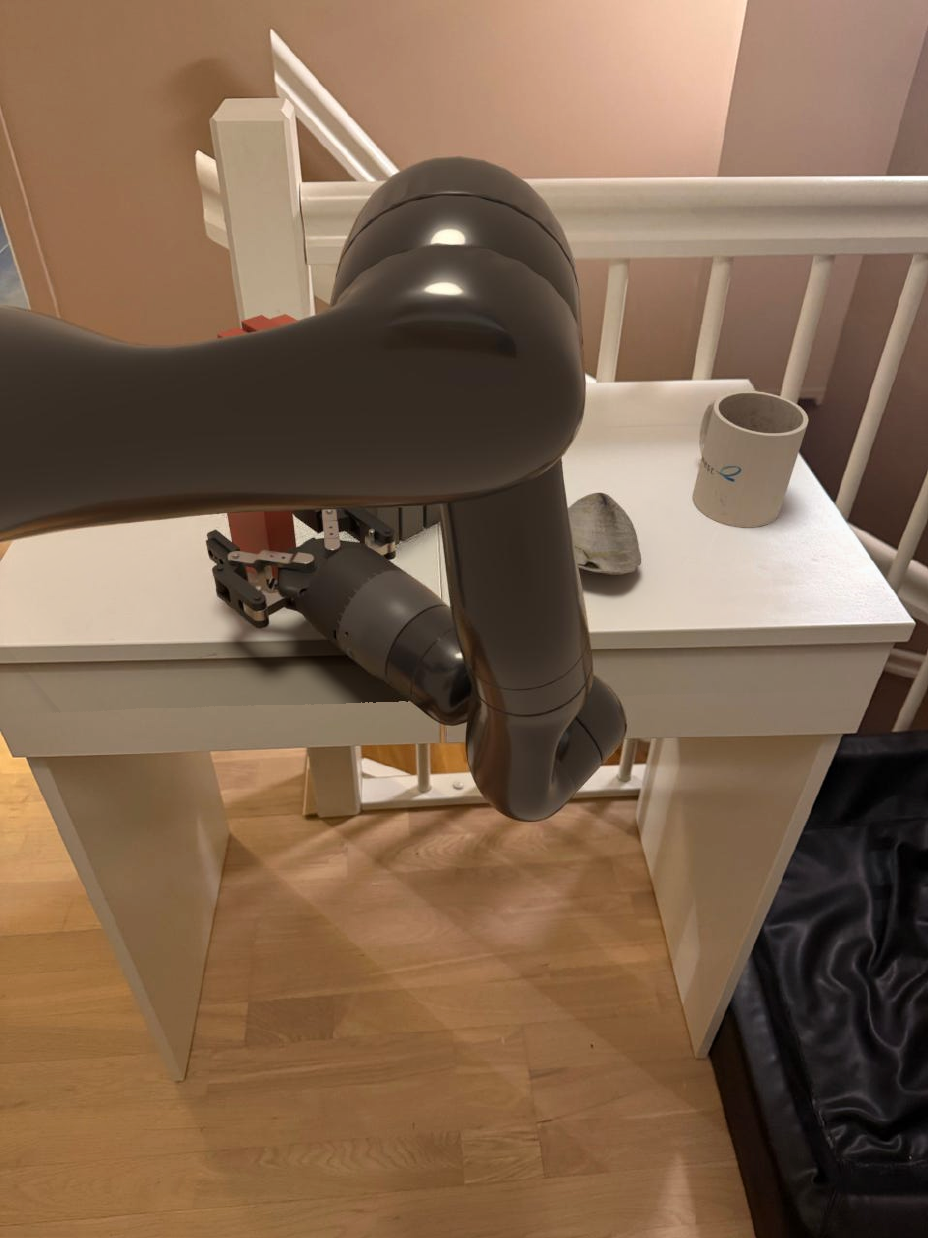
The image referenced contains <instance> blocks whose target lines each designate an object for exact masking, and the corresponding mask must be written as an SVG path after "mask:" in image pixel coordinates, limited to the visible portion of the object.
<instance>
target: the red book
mask: <svg viewBox="0 0 928 1238" xmlns="http://www.w3.org/2000/svg"><path fill="white" fill-rule="evenodd" d="M226 516H227V521H228V528H229V533H230V541H231V542H232V543H234V544H235V545H236V546H238V547H239V548H240V551H241V552H248V553H255V554H259V553H260V552H261V551H262V550H269V551H276V552H285V551H287V550H289V549H291V548H295V547H297V539H296V531H295V530H296V529H295V522H294V515H293V512H292V510H287V511H261V512H240V513H226ZM246 570H247V572H253V573H256V570H255V569H254V568H251V567H246ZM271 570H272V576H273V578H274V579H276V580H278V567H275V566H271Z"/></svg>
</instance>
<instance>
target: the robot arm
mask: <svg viewBox="0 0 928 1238" xmlns="http://www.w3.org/2000/svg"><path fill="white" fill-rule="evenodd" d="M569 243H570V242H569V240H568V239H567V236H566V234H565V231H564V229H563V226H562V224H561V222H560V221H559V219H558V217H557V216H556V215H555V213H554V212H553V210H552V209H551V207H550V205H549V204H548V203H547V201H546V199H545V198H543V196H541V195H540V194H539V193H538V191H536V189H535V188H533V186H531V184H529V183H528V182H527V181H526V180H524V179H522V178H521V177H520V176H518V175H516V174H515V173H514V172H512V171H511V170H509V169H507V168H505V167H503V166H500V165H497V164H496V163H492V162H490V161H487V160H484V159H480V158H475V157H474V158H473V157H467V156H462V155H458V156H456V155H455V156H442V157H431V158H428V159H424V160H421V161H418V162H416V163H412V164H411V165H409V166H407V167H405V168H404V169H401V170H399V171H398V172H396V173H394V174H392V175H391V176H390V177H388V178H387V180H385V181H384V182H383V183H381V185H379V186H378V188H376V189H375V190H374V191H373V193H372V194H371V195H370V197H369V198H368V200H367V201H366V202H365V204H364V205H363V206H362V207H361V209H360V210H359V211H358V213H357V216H356V218H355V220H354V222H353V224H352V226H351V228H350V231H349V233H348V235H347V236H346V239H345V241H344V244H343V246H342V249H341V252H340V257H339V261H338V265H337V269H336V273H335V277H334V283H333V287H332V291H331V294H330V302H329V306H328V309H326V310H324V311H321V312H319V313H317V314H315V315H310V316H308V317H304V318H302V319H297V320H298V321H295V322H292V323H289V324H285V325H281V326H277V327H273V328H269V329H265V330H261V331H256V332H251V333H245V334H240V335H235V336H229V337H224V338H219V339H218V338H214V339H209V340H203V341H198V342H190V343H179V344H167V345H166V344H165V345H161V344H159V345H158V344H156V345H155V344H152V345H151V344H144V343H137V342H130V341H126V340H123V339H120V338H117V337H113V336H111V335H110V336H109V335H107V334H104V333H101V332H99V331H96V330H93V329H90V328H88V327H85V326H83V325H80V324H78V323H74V322H72V321H69V320H66V319H63V318H60V317H58V316H54V315H50V314H47V313H44V312H41V311H37V310H33V309H29V308H23V307H18V306H13V305H7V304H0V543H5V542H6V543H8V542H14V541H18V540H19V541H20V540H23V539H29V538H34V537H39V536H44V535H50V534H56V533H62V532H67V531H75V530H83V529H90V528H91V529H92V528H100V527H109V526H117V525H127V524H136V523H143V522H145V523H146V522H153V521H163V520H172V519H181V518H188V517H190V518H191V517H197V516H198V517H199V516H209V515H210V516H211V515H220V514H227V513H240V512H261V511H287V510H292V512H293V517H294V518H295V519H297V520H298V521H300V522H302V523H303V524H304V525H305V526H307V527H308V528H310V529H311V530H313V531H314V532H315V533H317V535H319V534H321V533H323V537H319V538H315V536H314V537H311V538H309V539H307V540H305V541H303V543H302V544H301V545H299V546H296V547H295V548H291V549H289V550H287V551H285V552H276V551H269V550H262V551H261V552H260V553H259V554H255V553H248V552H241V551H240V548H239V547H238V546H236V545H235V544H234V543H232V540H231V539H229V538H228V537H227V536H225V535H224V534H223V533H222V532H220V531H219V530H218V529H212V530H211V531H209V532H207V533H206V538H207V539H206V540H205V546H206V550H207V556H208V558H209V560H211V561H212V562H213V563H214V564H215V565H214V566H212V568H211V573H212V576H213V580H214V584H215V593H216V596H217V598H219V599H220V600H221V601H223V602H224V603H225V604H226V605H227V606H229V607H230V608H231V609H232V610H234V611H235V612H236V613H237V614H238V615H240V616H241V618H243V619H244V620H246V621H247V622H248V623H249V624H251V625H252V626H253V627H254V628H256V629H265V628H266V627H268V626H269V625H270V618H269V617H270V616H272V615H273V614H275V613H277V612H278V611H280V610H282V609H284V608H285V609H286V610H290V611H294V612H296V613H299V614H301V616H303V617H304V619H305V620H306V621H307V622H308V624H309V625H310V626H311V627H312V628H313V629H315V631H317V632H318V633H319V634H321V636H323V637H324V638H325V639H327V640H328V641H329V642H331V643H332V644H333V645H334V646H336V647H337V648H338V649H339V650H340V651H342V652H343V653H344V654H345V655H346V656H347V657H348V658H349V659H351V660H353V661H354V662H355V663H356V664H358V665H359V666H360V667H361V668H362V669H364V670H365V671H366V672H368V673H369V674H370V675H372V676H374V677H375V678H378V679H379V680H381V681H383V682H384V683H386V684H388V685H389V686H390V687H391V688H393V689H394V690H395V691H396V692H398V693H400V695H401V696H402V697H404V698H405V699H407V700H408V701H409V702H410V703H411V704H412V705H414V706H415V707H416V708H418V709H419V710H420V711H421V712H423V713H424V714H425V715H427V716H428V717H429V718H430V719H432V720H434V721H435V722H436V723H438V724H440V725H443V726H448V727H449V726H450V727H455V726H459V725H463V724H466V726H465V744H464V745H465V755H466V760H467V764H468V765H467V766H468V769H469V772H470V775H471V777H472V779H473V782H474V784H475V786H476V788H477V789H478V791H479V793H480V795H481V796H482V797H483V798H484V799H485V801H486V802H487V803H488V804H489V805H490V807H492V808H493V809H495V810H496V811H497V812H498V813H500V814H501V815H502V816H505V817H506V818H509V819H511V820H513V821H516V822H523V823H538V822H542V821H545V820H548V819H550V818H551V817H553V816H554V815H556V814H557V813H559V811H561V810H562V809H563V808H564V807H565V806H566V805H567V804H568V802H570V801H571V799H572V798H573V797H574V796H575V795H576V793H578V792H579V790H580V789H581V788H582V787H583V786H584V785H585V784H586V783H587V782H588V781H589V780H590V779H591V778H592V776H593V775H595V774H596V772H597V771H598V770H599V769H600V768H601V767H602V766H603V765H604V764H605V763H606V762H607V760H608V759H610V757H612V755H613V754H614V753H615V752H616V751H617V750H618V749H619V747H620V746H621V744H622V742H624V740H625V737H626V734H627V731H628V730H627V729H628V719H627V715H626V710H625V708H624V706H623V704H622V702H621V700H620V698H619V697H618V695H617V694H616V692H615V691H614V690H613V688H611V686H610V685H609V684H607V682H605V681H604V680H603V679H602V678H601V677H599V676H598V675H596V674H595V673H594V660H593V653H592V644H591V637H590V636H591V635H590V628H589V627H590V626H589V621H588V615H587V608H586V602H585V597H584V590H583V584H582V579H581V574H580V573H581V572H580V568H578V562H577V557H576V551H575V546H574V540H573V534H572V529H571V523H570V517H569V511H568V508H569V505H568V499H567V492H566V491H567V490H566V485H565V476H564V468H563V459H562V458H563V456H565V454H566V453H567V451H568V450H569V448H570V447H571V445H572V444H573V443H574V441H575V440H576V438H577V436H578V434H579V432H580V429H581V426H582V424H583V420H584V416H585V409H586V400H587V399H586V398H587V380H586V379H587V378H586V366H585V365H586V364H585V363H586V362H585V350H584V336H583V335H584V334H583V322H582V307H581V306H582V305H581V291H580V283H579V278H578V271H577V267H576V262H575V258H574V254H573V251H572V248H571V245H570V244H569ZM425 505H438V511H439V518H440V521H439V524H440V525H439V526H440V533H441V542H442V550H443V558H444V568H445V574H446V583H447V592H448V600H449V605H448V604H447V603H446V602H445V601H444V600H443V599H442V598H441V597H440V596H438V594H437V593H435V592H434V591H433V590H432V589H430V588H429V587H428V586H427V585H425V584H424V583H423V582H421V581H420V580H418V579H416V577H414V576H412V575H411V574H409V573H408V572H406V571H405V570H404V569H402V568H400V566H398V565H397V564H395V563H394V562H392V560H394V559H395V558H396V554H397V553H396V544H395V530H394V529H393V528H391V527H390V526H388V525H387V524H385V523H384V522H383V521H381V520H380V519H378V518H377V517H375V516H374V515H372V514H371V513H370V512H368V511H367V510H365V509H364V508H391V507H414V506H425ZM336 509H340V510H336ZM343 532H346V533H347V534H348V535H350V536H351V537H352V538H353V539H355V540H356V541H350V540H343V539H341V538H340V537H341V536H340V533H343ZM271 566H275V567H278V580H276V579H274V578H273V576H272V570H271ZM246 567H251V568H254V569H255V570H256V573H253V572H247V570H246Z"/></svg>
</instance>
